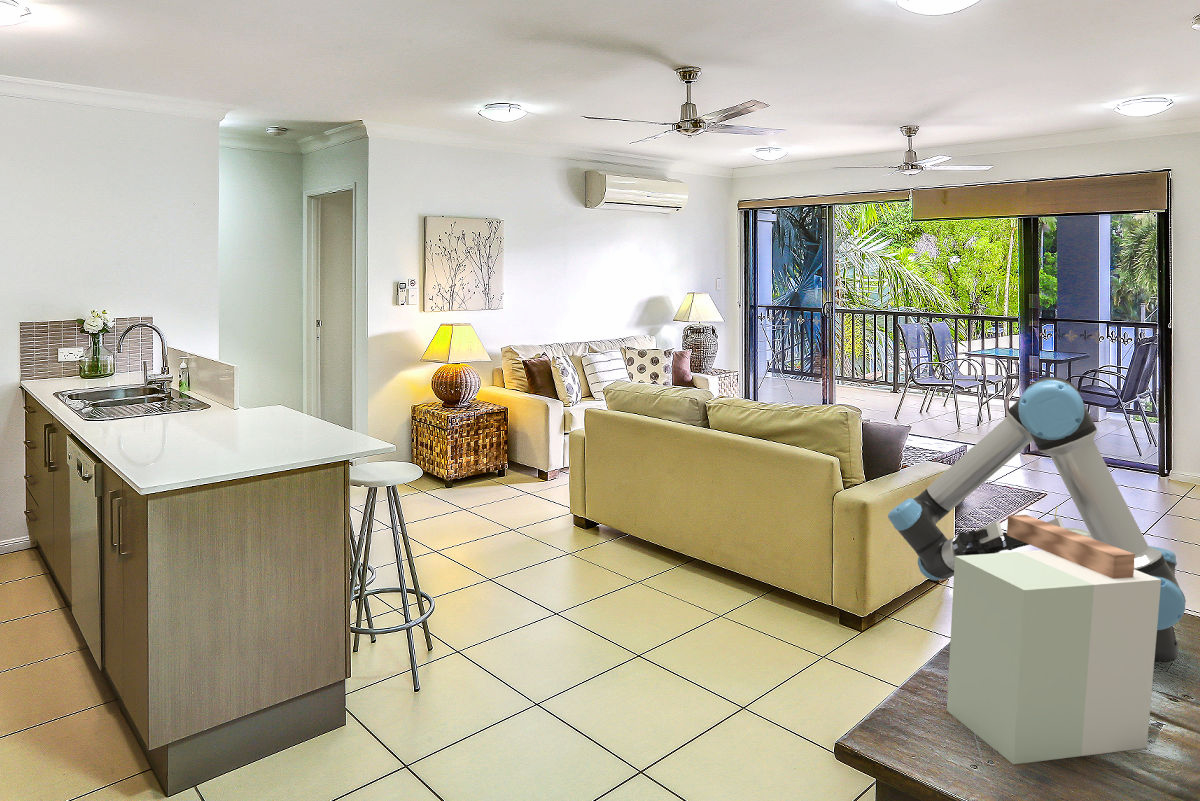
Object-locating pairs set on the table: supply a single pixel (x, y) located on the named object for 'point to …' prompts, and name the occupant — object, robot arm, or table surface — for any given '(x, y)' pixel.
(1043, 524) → the bar
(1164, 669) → the table surface
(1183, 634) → the table surface
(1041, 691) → the pale green cube
